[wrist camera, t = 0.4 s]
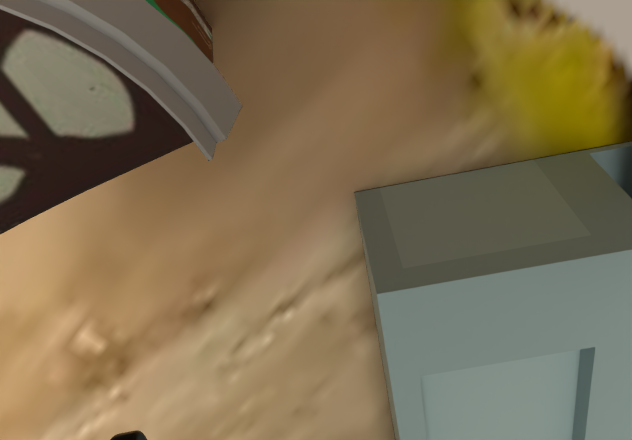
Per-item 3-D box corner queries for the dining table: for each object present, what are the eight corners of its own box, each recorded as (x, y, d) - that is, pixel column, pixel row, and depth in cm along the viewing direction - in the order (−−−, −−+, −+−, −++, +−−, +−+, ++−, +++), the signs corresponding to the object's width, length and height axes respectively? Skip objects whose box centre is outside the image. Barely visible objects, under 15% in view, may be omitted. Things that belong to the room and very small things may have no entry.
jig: (691, 417, 33) (768, 527, 28) (399, 464, 34) (422, 579, 28) (770, 115, 23) (913, 200, 18) (354, 192, 24) (376, 294, 18)
